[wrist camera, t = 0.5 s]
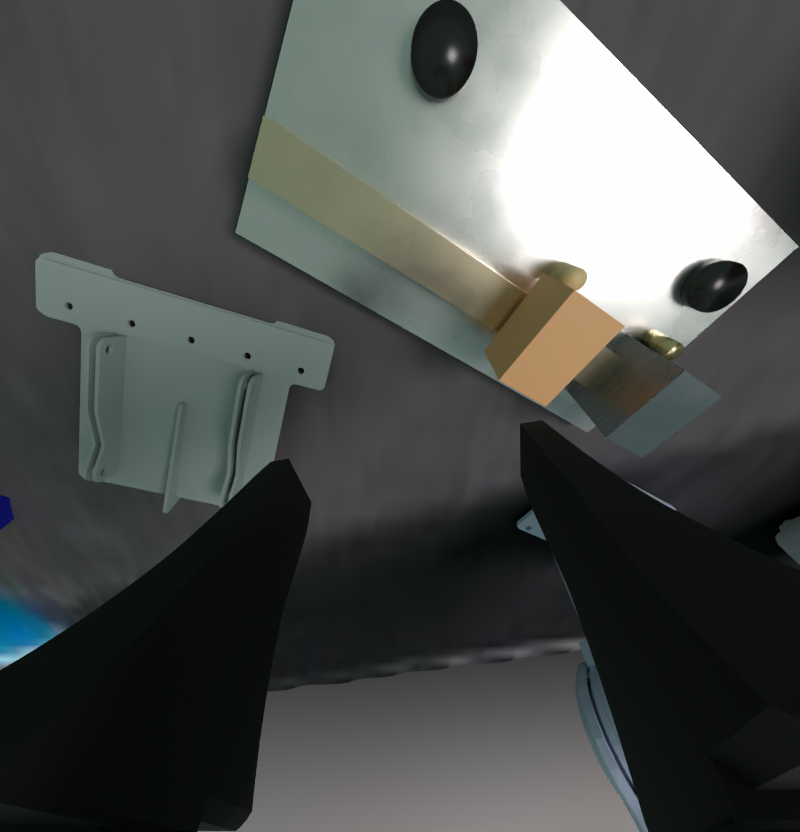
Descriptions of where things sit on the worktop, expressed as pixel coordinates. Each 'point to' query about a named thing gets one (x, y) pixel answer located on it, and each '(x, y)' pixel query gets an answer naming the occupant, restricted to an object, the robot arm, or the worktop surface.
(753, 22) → the worktop surface
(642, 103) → the plate
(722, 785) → the robot arm
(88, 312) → the metal bracket
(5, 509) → the cable clip
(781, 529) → the stereo radio cassette player
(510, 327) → the block
